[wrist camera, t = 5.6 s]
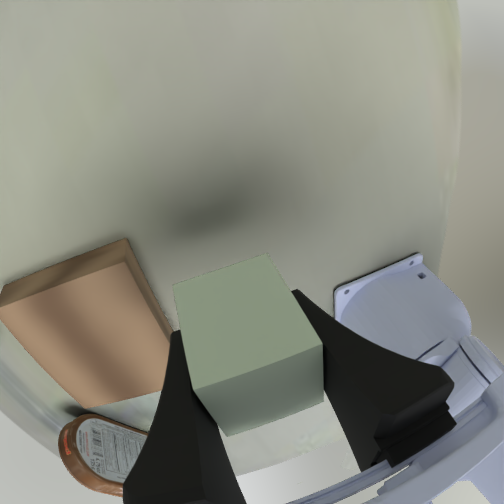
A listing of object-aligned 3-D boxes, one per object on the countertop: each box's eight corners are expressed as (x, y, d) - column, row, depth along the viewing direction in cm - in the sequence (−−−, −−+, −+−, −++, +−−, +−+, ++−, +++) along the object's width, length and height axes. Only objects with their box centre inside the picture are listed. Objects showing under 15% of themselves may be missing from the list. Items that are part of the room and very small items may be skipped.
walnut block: (126, 234, 19) (124, 261, 16) (186, 352, 26) (192, 381, 23) (5, 281, 17) (-7, 310, 15) (85, 381, 24) (84, 408, 22)
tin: (58, 409, 25) (57, 484, 18) (72, 398, 25) (72, 478, 18) (164, 447, 34) (177, 506, 27) (181, 439, 34) (196, 500, 27)
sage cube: (267, 252, 13) (322, 343, 9) (279, 318, 16) (323, 401, 12) (172, 284, 13) (193, 389, 9) (201, 345, 15) (226, 436, 11)
